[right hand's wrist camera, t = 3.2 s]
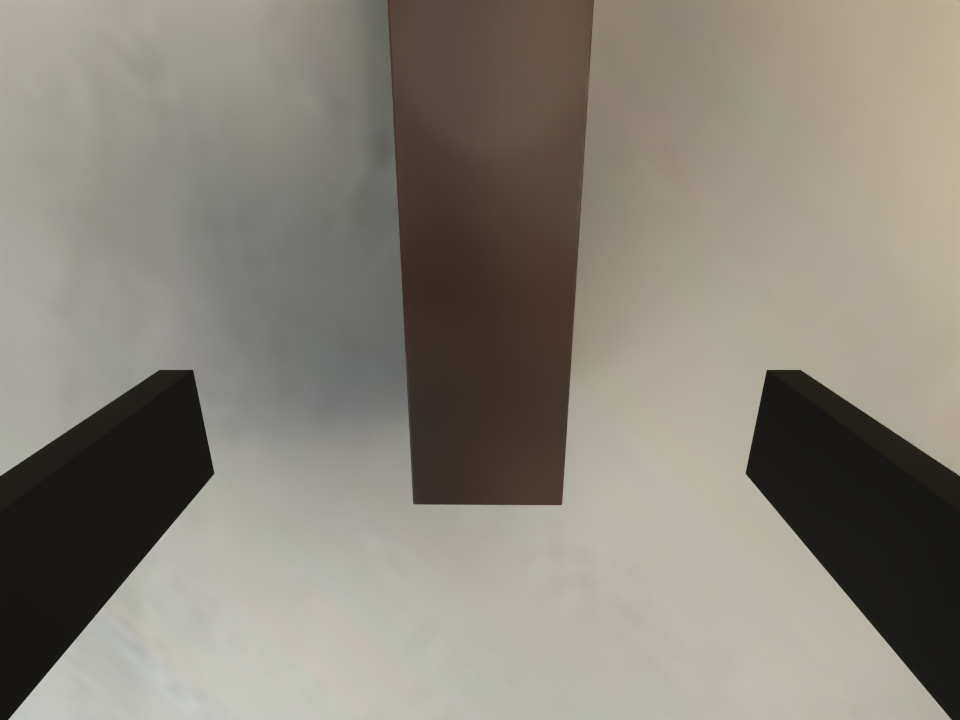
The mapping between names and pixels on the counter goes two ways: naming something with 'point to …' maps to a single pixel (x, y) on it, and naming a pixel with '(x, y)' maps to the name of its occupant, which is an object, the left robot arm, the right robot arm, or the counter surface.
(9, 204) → the counter surface
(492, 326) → the beam
